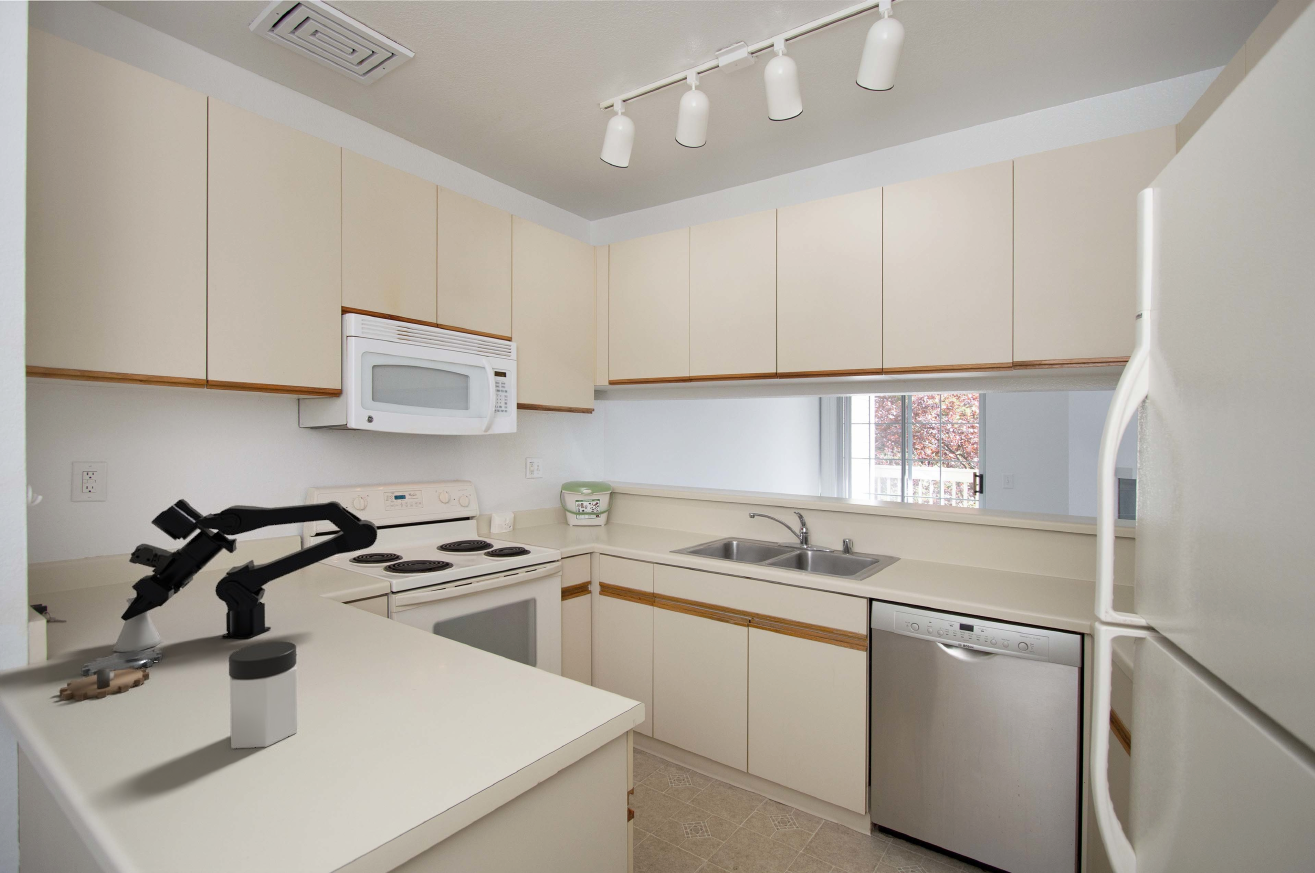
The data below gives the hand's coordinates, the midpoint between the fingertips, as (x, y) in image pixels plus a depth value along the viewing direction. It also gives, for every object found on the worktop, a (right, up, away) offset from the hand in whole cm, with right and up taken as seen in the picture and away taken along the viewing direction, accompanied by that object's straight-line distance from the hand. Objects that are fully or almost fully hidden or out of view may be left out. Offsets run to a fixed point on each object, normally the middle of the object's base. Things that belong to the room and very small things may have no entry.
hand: (128, 614), depth 124 cm
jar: (+50, -7, -36) cm, 62 cm away
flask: (+1, -7, +1) cm, 7 cm away
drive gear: (+12, -7, -19) cm, 23 cm away
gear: (+7, -7, -9) cm, 13 cm away
